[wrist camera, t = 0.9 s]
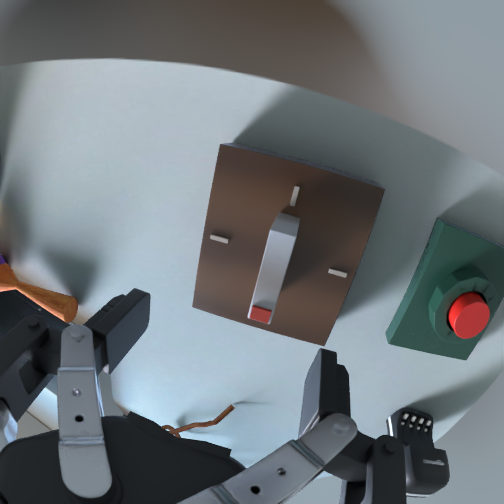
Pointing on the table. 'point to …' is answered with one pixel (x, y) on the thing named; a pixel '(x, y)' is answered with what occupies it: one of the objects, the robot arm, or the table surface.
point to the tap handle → (274, 267)
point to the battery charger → (419, 452)
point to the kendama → (39, 294)
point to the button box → (448, 290)
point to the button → (468, 315)
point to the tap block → (306, 245)
